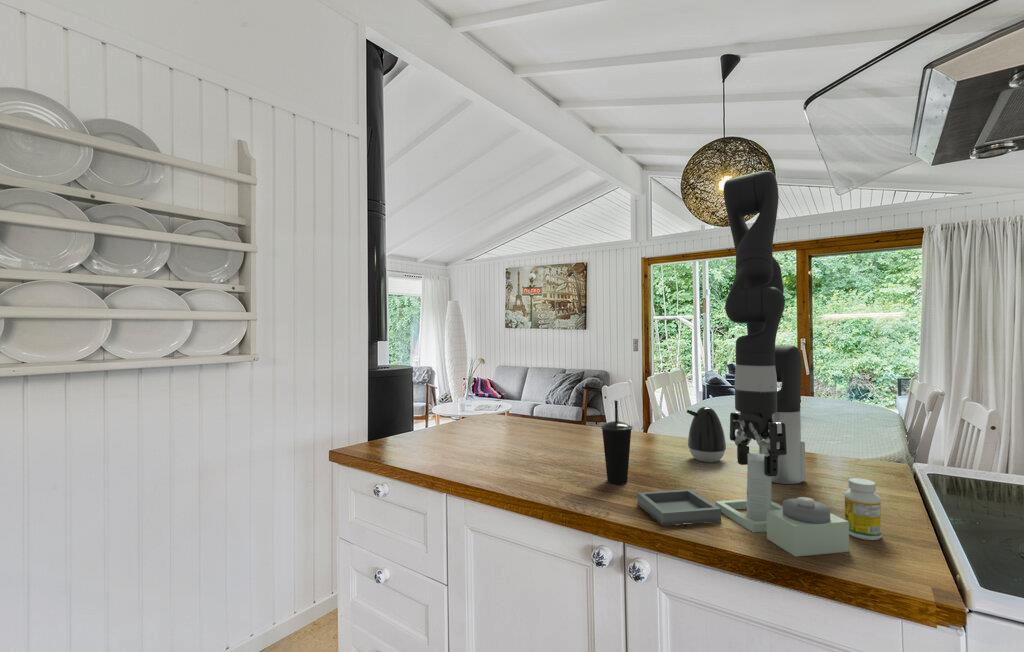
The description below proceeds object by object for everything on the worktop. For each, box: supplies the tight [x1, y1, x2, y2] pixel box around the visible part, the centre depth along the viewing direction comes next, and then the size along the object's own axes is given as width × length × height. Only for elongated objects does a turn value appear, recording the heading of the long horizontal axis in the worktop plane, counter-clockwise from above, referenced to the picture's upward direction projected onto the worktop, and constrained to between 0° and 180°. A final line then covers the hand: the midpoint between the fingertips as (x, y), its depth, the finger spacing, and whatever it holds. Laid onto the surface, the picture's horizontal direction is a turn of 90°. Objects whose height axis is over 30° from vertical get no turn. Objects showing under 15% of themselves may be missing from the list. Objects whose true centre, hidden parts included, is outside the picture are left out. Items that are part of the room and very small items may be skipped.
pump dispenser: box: [686, 406, 727, 463], centre depth 140 cm, size 10×10×15 cm
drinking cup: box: [600, 400, 633, 485], centre depth 121 cm, size 8×8×20 cm
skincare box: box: [746, 452, 772, 521], centre depth 97 cm, size 6×4×12 cm
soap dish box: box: [714, 496, 850, 558], centre depth 92 cm, size 11×22×8 cm, turn 9°
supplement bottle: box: [843, 477, 882, 541], centre depth 88 cm, size 5×5×10 cm
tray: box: [637, 488, 722, 527], centre depth 100 cm, size 12×12×2 cm
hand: (756, 469), depth 97 cm, fingers open, 8 cm apart
